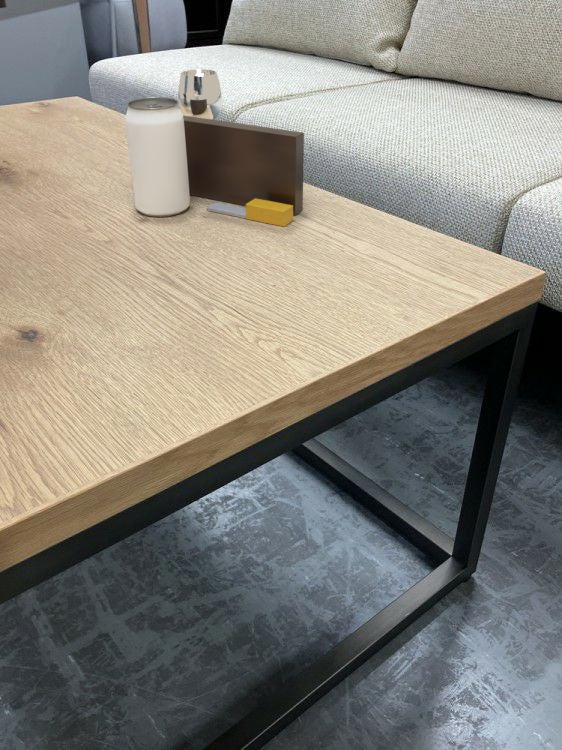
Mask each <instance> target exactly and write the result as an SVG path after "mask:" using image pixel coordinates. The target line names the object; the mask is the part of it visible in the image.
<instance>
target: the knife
mask: <svg viewBox="0 0 562 750" xmlns="http://www.w3.org/2000/svg"><path fill="white" fill-rule="evenodd" d="M206 211H207V212H213V213H218V214H222V215H227V216H232V217H236V218H241V219H246V220H250V221H254V222H259V223H265V224H269V225H275V226H279V227H286V226H287V225H289V224H290V223H291V222H293V221H294V215H293V205H288V204H282V203H277V202H272V201H267V200H261V199H256V198H255V199H253V200H252V201H250V202H248V203H247V204H246V206H245V207H242V206H236V205H231V204H225V203H221V202H215V201H214V202H213V203H212V204H210V205H208V206H206Z"/></svg>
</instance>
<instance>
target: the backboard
mask: <svg viewBox="0 0 562 750" xmlns="http://www.w3.org/2000/svg"><path fill="white" fill-rule="evenodd" d="M182 115H183V114H182ZM183 119H184V130H185V142H186V155H187V168H188V181H189V196H192V197H193V196H194V197H200V198H204V199H208V200H215V201H218V202H219V201H220V202H225V203H230V204H233V205H234V204H235V205H240V206H245V207H246V204H247V203H248V202H250V201H252V200H253V199H255V198H256V199H261V200H267V201H272V202H277V203H282V204H288V205H293V216H297V215H298V214H299V213H301V212H303V210H304V208H303V207H304V160H305V159H304V158H305V157H304V156H305V155H304V153H305V132H302V131H294V130H288V129H281V128H274V127H267V126H261V125H253V124H246V123H239V122H233V121H226V120H217V119H215V120H212V119H205V118H198V117H191V116H184V115H183Z"/></svg>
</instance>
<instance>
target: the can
mask: <svg viewBox="0 0 562 750" xmlns="http://www.w3.org/2000/svg"><path fill="white" fill-rule="evenodd" d="M126 106H127V110H126V114H125V117H124V123H125V132H126V134H125V135H126V141H127V151H128V158H129V167H130V175H131V184H132V191H133V199H134V206H135V209H136V210H137V211H138V212H139V213H140V214H142V215H145V216H148V217H155V218H165V217H166V218H167V217H172V216H176V215H180V214H182V213H184V212H186V211H187V210H188V209H189V207H190V204H191V198H190V196H191V195H189V181H188V168H187V155H186V142H185V130H184V119H183V114H182V113H181V111H180V107H179V100H177V99H176V98H172V97H168V96H167V97H166V96H146V97H140V98H134V99H131V100H129V101H128V102H126Z"/></svg>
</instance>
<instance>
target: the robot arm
mask: <svg viewBox="0 0 562 750" xmlns="http://www.w3.org/2000/svg"><path fill="white" fill-rule="evenodd" d="M7 7H8V6H7V0H0V9H6V8H7Z"/></svg>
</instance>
